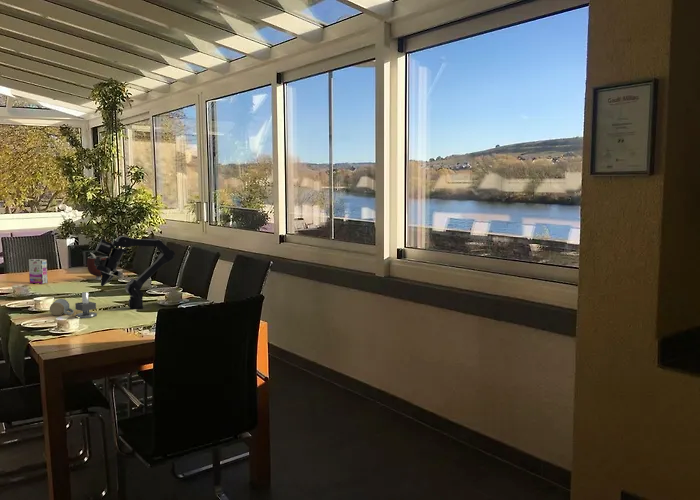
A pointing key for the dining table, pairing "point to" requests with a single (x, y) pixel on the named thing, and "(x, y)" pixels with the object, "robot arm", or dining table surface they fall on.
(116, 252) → the robot arm
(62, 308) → the ceramic mug
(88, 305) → the ring
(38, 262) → the candy bar box
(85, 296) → the pipe stand
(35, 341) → the dining table surface
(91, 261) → the mate gourd
